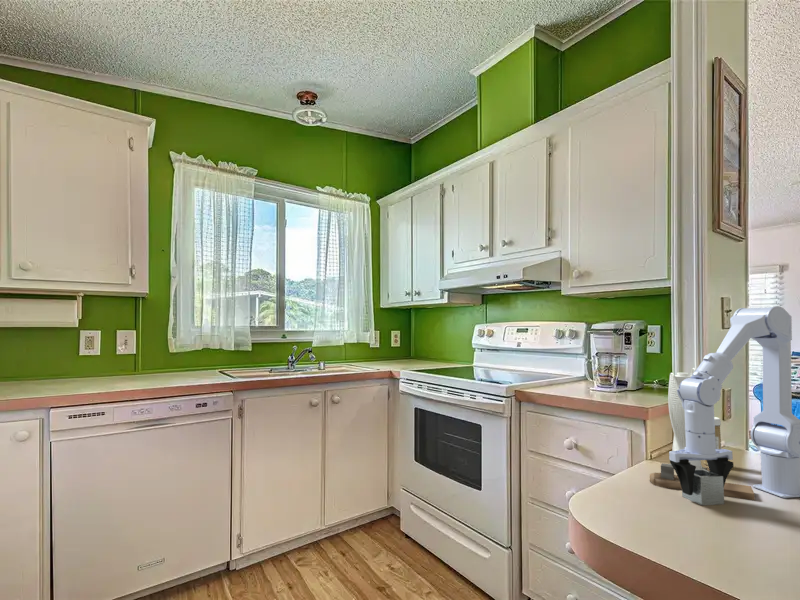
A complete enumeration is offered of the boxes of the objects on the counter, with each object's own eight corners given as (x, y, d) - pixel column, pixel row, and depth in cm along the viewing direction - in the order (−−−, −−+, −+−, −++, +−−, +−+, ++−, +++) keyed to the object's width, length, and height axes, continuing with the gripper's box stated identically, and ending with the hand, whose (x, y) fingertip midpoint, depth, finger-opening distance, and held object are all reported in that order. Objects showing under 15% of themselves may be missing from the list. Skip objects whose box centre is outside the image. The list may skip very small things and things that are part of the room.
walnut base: (750, 491, 110) (749, 472, 111) (755, 502, 103) (754, 481, 104) (650, 476, 121) (650, 459, 121) (648, 485, 114) (648, 466, 115)
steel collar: (703, 495, 107) (702, 468, 108) (724, 504, 102) (723, 476, 102) (682, 496, 107) (681, 469, 107) (701, 505, 101) (700, 477, 101)
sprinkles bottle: (725, 465, 131) (723, 417, 132) (718, 468, 128) (716, 419, 129) (707, 462, 135) (705, 415, 136) (700, 464, 132) (698, 416, 133)
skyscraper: (711, 471, 126) (707, 367, 128) (691, 474, 123) (687, 368, 125) (682, 463, 134) (678, 365, 135) (662, 466, 130) (659, 366, 132)
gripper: (713, 427, 110) (716, 485, 109) (658, 428, 108) (661, 488, 107) (739, 433, 103) (742, 495, 102) (681, 435, 101) (684, 499, 100)
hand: (702, 492), depth 104 cm, fingers open, 7 cm apart
